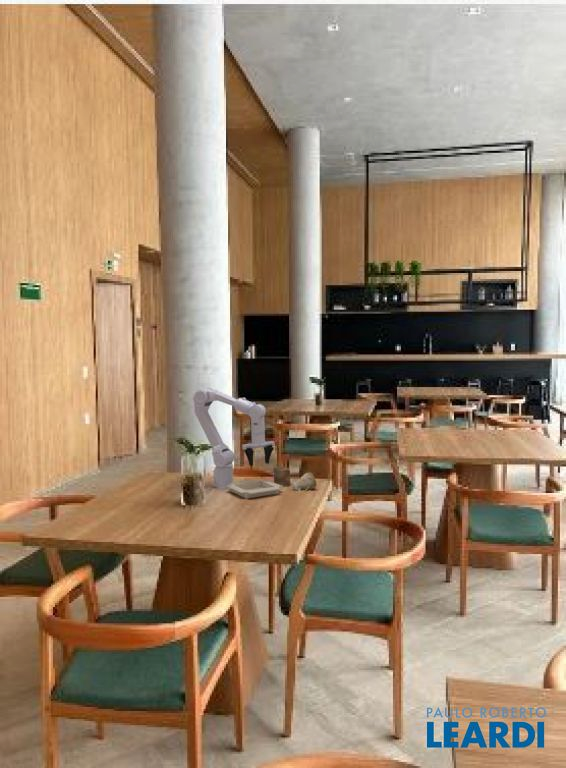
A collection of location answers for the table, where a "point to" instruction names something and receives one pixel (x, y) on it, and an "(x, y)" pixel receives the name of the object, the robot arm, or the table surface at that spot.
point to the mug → (305, 482)
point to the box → (282, 476)
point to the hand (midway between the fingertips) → (259, 464)
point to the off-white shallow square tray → (254, 488)
